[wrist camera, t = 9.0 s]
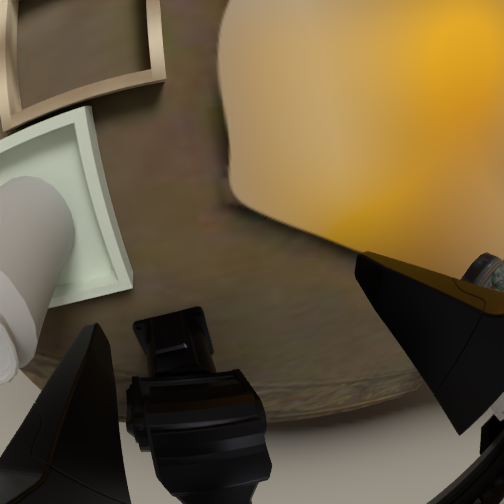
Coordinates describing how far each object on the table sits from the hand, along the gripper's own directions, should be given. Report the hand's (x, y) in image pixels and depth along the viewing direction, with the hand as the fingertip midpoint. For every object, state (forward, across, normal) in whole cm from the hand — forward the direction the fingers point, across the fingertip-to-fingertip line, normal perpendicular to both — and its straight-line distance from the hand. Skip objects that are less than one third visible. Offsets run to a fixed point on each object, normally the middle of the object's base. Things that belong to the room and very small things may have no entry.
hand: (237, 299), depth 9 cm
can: (+13, +12, 0) cm, 17 cm away
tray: (+13, +12, 0) cm, 18 cm away
